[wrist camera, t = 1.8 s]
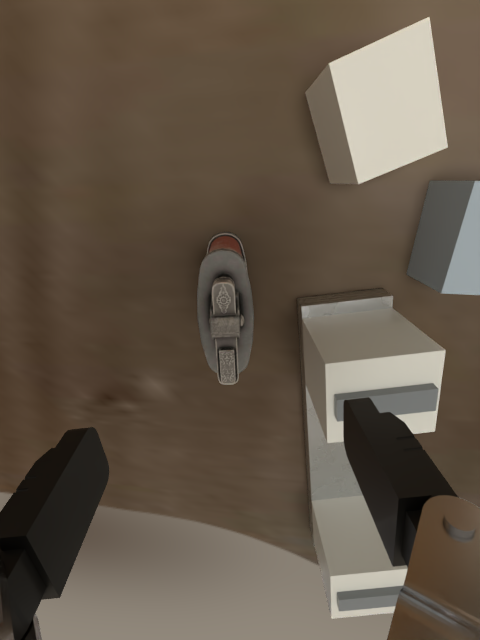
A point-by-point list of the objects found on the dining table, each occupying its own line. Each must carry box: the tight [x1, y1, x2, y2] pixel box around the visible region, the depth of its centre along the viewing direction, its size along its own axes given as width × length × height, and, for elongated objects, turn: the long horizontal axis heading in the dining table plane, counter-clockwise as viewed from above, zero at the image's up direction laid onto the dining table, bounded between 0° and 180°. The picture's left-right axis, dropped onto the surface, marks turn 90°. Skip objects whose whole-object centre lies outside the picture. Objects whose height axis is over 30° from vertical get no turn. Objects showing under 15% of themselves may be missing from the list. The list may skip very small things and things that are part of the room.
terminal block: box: [407, 181, 480, 295], centre depth 24 cm, size 4×7×5 cm, turn 177°
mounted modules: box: [302, 308, 446, 618], centre depth 28 cm, size 7×26×8 cm, turn 7°
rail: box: [297, 288, 393, 546], centre depth 32 cm, size 7×28×2 cm, turn 7°
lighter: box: [197, 232, 254, 385], centre depth 22 cm, size 8×3×10 cm, turn 2°
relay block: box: [305, 17, 448, 184], centre depth 20 cm, size 5×6×6 cm
